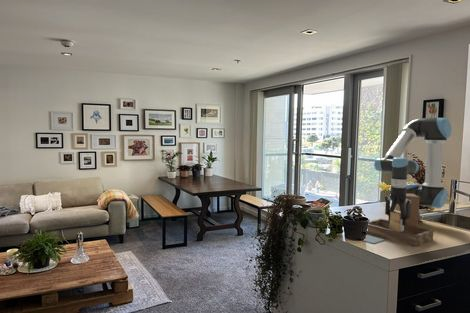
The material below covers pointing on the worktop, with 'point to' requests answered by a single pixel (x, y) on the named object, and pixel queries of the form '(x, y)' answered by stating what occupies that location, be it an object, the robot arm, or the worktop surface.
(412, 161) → the robot arm
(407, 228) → the brown wooden tray
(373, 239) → the mat
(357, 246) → the worktop surface
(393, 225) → the oak block
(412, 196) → the wooden block
